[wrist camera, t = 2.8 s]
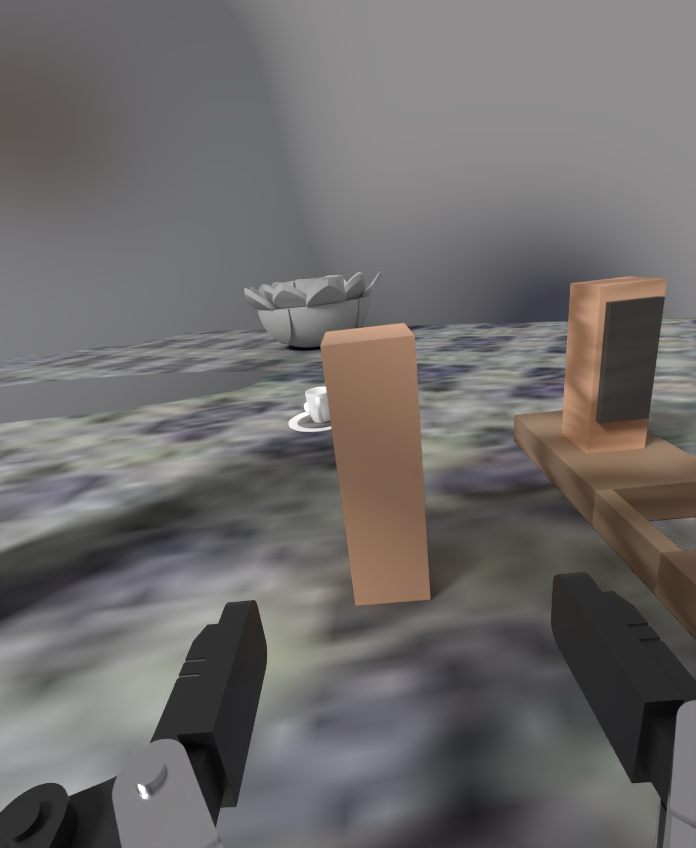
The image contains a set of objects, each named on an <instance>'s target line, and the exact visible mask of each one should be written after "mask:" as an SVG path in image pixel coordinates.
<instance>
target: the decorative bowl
mask: <svg viewBox="0 0 696 848" xmlns="http://www.w3.org/2000/svg"><path fill="white" fill-rule="evenodd" d="M380 278H381V271H380V272H379V273H378V275H377V276H376V278H375V279H374V281H373V282H372V283H371V284H370V285H369V286H368V287H367V288H366V289H365V281H364V277H363V274H362V273H361V272H359V273H357V274H355V275H354V276H353V277H352V278H351V279H350V280H349V281H348V282H346V281H345V280H344V279H343V275H340V276H338V275H334V276H326V277H322V278H313V279H305V280H302V279H299V280H296V281H291V282H285V283H273V284H272V286H269V285H264V284H263V285H261V287H260V288H259V291H257V290H256V289H255V288H253V287H250V288H251V290H248V289H246V288H245V289H244V291H245V296H246V300H247V302H248V303H249V305H250V306H252V307H253V308H255V309H257V310H258V314H259V316H260V319H261V322H262V323H263V326H264V327H265V329H266V330H267V331H268V333H269V334H270V335H271V336H272V337H273V338H274V339H276V340H277V341H278V342H280V343H282V344H289V345H291V346H295V347H301V348H315V347H320V345H321V343H322V340H323V337H324V335H325V332H329V331H338V330H347V329H355V328H361V327H362V325H363V323H364V321H365V319H366V317H367V314H368V310H369V294H371V292H372V291H373V290H374V289H375V287H376V286H377V284H378V282H379V280H380Z"/></svg>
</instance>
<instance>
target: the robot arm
mask: <svg viewBox="0 0 696 848" xmlns="http://www.w3.org/2000/svg"><path fill="white" fill-rule="evenodd" d="M551 625H552V631H553V635H554V638H555V641H556V643H557V645H558V647H559V649H560V651H561V653H562V655H563V657H564V659H565V660H566V662H567V664H568V666H569V668H570V670H571V671H572V673H573V675H574V677H575V679H576V681H577V683H578V684H579V686H580V688H581V690H582V692H583V694H584V696H585V697H586V699H587V701H588V703H589V705H590V707H591V708H592V710H593V712H594V714H595V716H596V718H597V720H598V721H599V723H600V725H601V727H602V729H603V731H604V733H605V734H606V736H607V738H608V740H609V742H610V744H611V746H612V747H613V749H614V751H615V753H616V755H617V757H618V758H619V760H620V762H621V764H622V766H623V768H624V770H625V771H626V773H627V775H628V777H629V779H630V781H631V783H643V782H652V784H653V786H654V788H655V789H656V791H657V793H658V794H659V796H660V802H659V807H658V818H657V828H656V838H655V848H696V681H695V680H694V678H693V677H692V676H691V675H690V674H689V672H688V671H687V670H686V669H685V668H684V666H683V665H682V664H681V663H680V661H679V660H678V659H677V658H676V657H675V655H674V654H673V653H672V652H671V651H670V649H669V648H668V647H667V646H666V645H665V643H664V642H663V641H662V642H661V640H660V637H659V636H658V635H657V634H656V632H655V631H654V630H653V629H652V628H651V627H649V626H648V623H647V622H646V620H645V619H644V618H643V617H642V615H641V614H640V613H639V612H638V611H637V609H636V608H635V607H634V606H633V605H632V604H630V603H629V602H627V601H626V600H625V599H623V598H622V597H620V596H619V595H617V594H616V593H614V592H613V591H610V592H602V591H601V590H600V588H599V587H598V586H597V584H596V583H595V582H594V580H593V579H592V578H591V577H590V575H589V574H587V573H585V572H582V573H570V574H559V575H555V576H554V579H553V592H552V610H551ZM185 660H186V662H185V663H184V664H183V666H182V669H181V671H180V674H179V679H177V681H176V683H175V685H174V688H173V690H172V692H171V695H170V697H169V700H168V702H167V704H166V707H165V709H164V711H163V714H162V716H161V718H160V721H159V723H158V726H157V728H156V730H155V733H154V735H153V737H152V739H151V741H150V743H149V744H147V745H146V746H144V747H142V748H141V749H140V750H138V751H137V752H136V753H135V754H134V755H132V756H131V757H130V759H129V760H128V761H127V762H126V763H125V765H124V766H123V767H122V769H121V770H120V772H119V774H118V775H117V776H116V777H114V778H112V779H110V780H108V781H105V782H103V783H100V784H98V785H96V786H93V787H91V788H88V789H86V790H83V791H81V792H78V793H76V794H73V795H71V796H68V794H67V792H66V790H65V789H64V788H63V787H62V786H61V785H59V784H56V783H46V784H41V785H38V786H36V787H33V788H31V789H29V790H27V791H26V792H24V793H23V794H21V795H20V796H18V797H17V798H16V799H14V800H13V801H12V802H11V803H10V804H8V805H7V806H6V807H5V808H4V809H3V810H2V811H1V812H0V848H223V846H222V843H221V841H220V838H219V836H218V834H217V831H216V829H215V828H216V824H217V819H218V815H219V811H220V808H223V807H236V806H237V801H238V797H239V792H240V787H241V783H242V778H243V773H244V769H245V764H246V759H247V755H248V750H249V745H250V740H251V736H252V731H253V726H254V722H255V717H256V712H257V708H258V703H259V698H260V694H261V689H262V684H263V680H264V675H265V670H266V664H267V645H266V639H265V635H264V631H263V627H262V622H261V618H260V614H259V610H258V606H257V603H256V601H255V600H251V601H240V602H228V603H227V604H226V605H225V607H224V610H223V612H222V615H221V618H220V620H219V623H218V624H210V625H207V626H206V627H205V628H204V629H203V630H202V632H201V633H200V634H199V635H198V636H197V637H196V638H195V640H194V641H193V643H192V645H191V647H190V650H189V652H188V655H187V657H186V659H185Z"/></svg>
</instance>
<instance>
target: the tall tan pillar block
mask: <svg viewBox="0 0 696 848" xmlns="http://www.w3.org/2000/svg"><path fill="white" fill-rule="evenodd" d="M320 348H321V355H322V362H323V370H324V377H325V384H326V392H327V399H328V407H329V414H330V421H331V429H332V436H333V443H334V451H335V458H336V465H337V473H338V480H339V488H340V495H341V502H342V510H343V517H344V524H345V532H346V539H347V546H348V554H349V561H350V569H351V576H352V583H353V591H354V598H355V605H356V606H362V605H374V604H386V603H397V602H409V601H421V600H431V599H430V582H429V566H428V549H427V532H426V516H425V499H424V482H423V465H422V449H421V432H420V415H419V399H418V382H417V365H416V348H415V335H414V334H413V333H412V332H411V330H410V329H409V328H408V327H407V326H406V325H405V324H404V323H400V324H390V325H382V326H373V327H364V328H355V329H347V330H338V331H329V332H325V335H324V337H323V340H322V343H321V345H320Z"/></svg>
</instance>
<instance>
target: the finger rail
mask: <svg viewBox="0 0 696 848" xmlns="http://www.w3.org/2000/svg"><path fill="white" fill-rule="evenodd" d="M666 283H667V279H666V278H646V277H645V278H644V277H621V278H613V279H604V280H596V281H587V282H579V283H571V289H570V305H569V321H568V338H567V354H566V371H565V387H564V404H563V410H562V411H552V412H542V413H533V414H523V415H515V416H514V441H515V442H516V443H517V444H518V446H519V447H520V448H521V449H522V450H523V451H524V452H525V453H526V454H527V455H528V456H529V458H530V459H531V460H532V461H533V462H534V463H535V464H536V465H537V466H538V467H539V468H540V470H541V471H542V472H543V473H544V474H545V475H546V476H547V477H548V478H549V479H550V481H551V482H552V483H553V484H554V485H555V486H556V487H557V488H558V489H559V490H560V491H561V493H562V494H563V495H564V496H565V497H566V498H567V499H568V500H569V501H570V502H571V503H572V505H573V506H574V507H575V508H576V509H577V510H578V511H579V512H580V513H581V514H582V516H583V517H584V518H585V519H586V520H587V521H588V522H589V523H590V524H591V525H592V526H593V528H594V529H595V530H596V531H597V532H598V533H599V534H600V535H601V536H602V537H603V538H604V540H605V541H606V542H607V543H608V544H609V545H610V546H611V547H612V548H613V549H614V551H615V552H616V553H617V554H618V555H619V556H620V557H621V558H622V559H623V560H624V561H625V563H626V564H627V565H628V566H629V567H630V568H631V569H632V570H633V571H634V572H635V573H636V575H637V576H638V577H639V578H640V579H641V580H642V581H643V582H644V583H645V584H646V586H647V587H648V588H649V589H650V590H651V591H652V592H653V593H654V594H655V595H656V596H657V598H658V599H659V600H660V601H661V602H662V603H663V604H664V605H665V606H666V607H667V608H668V610H669V611H670V612H671V613H672V614H673V615H674V616H675V617H676V618H677V619H678V620H679V622H680V623H681V624H682V625H683V626H684V627H685V628H686V629H687V630H688V631H689V633H690V634H691V635H692V636H693V637H694V638H695V639H696V550H685V551H682V550H681V549H680V548H679V547H678V546H677V545H676V544H674V543H673V542H672V541H671V540H670V539H669V538H668V537H666V536H665V535H664V534H663V533H662V532H661V531H659V530H658V529H657V528H656V527H655V526H654V525H653V524H651V523H650V522H649V521H652V520H663V519H674V518H685V517H696V458H695V457H693V456H691V455H690V454H688V453H686V452H684V451H683V450H681V449H679V448H677V447H676V446H674V445H672V444H670V443H668V442H667V441H665V440H663V439H661V438H660V437H658V436H656V435H654V434H653V433H651V432H649V431H647V426H648V419H649V412H650V404H651V397H652V389H653V382H654V374H655V367H656V359H657V352H658V344H659V337H660V329H661V322H662V314H663V306H664V299H665V291H666Z"/></svg>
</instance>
